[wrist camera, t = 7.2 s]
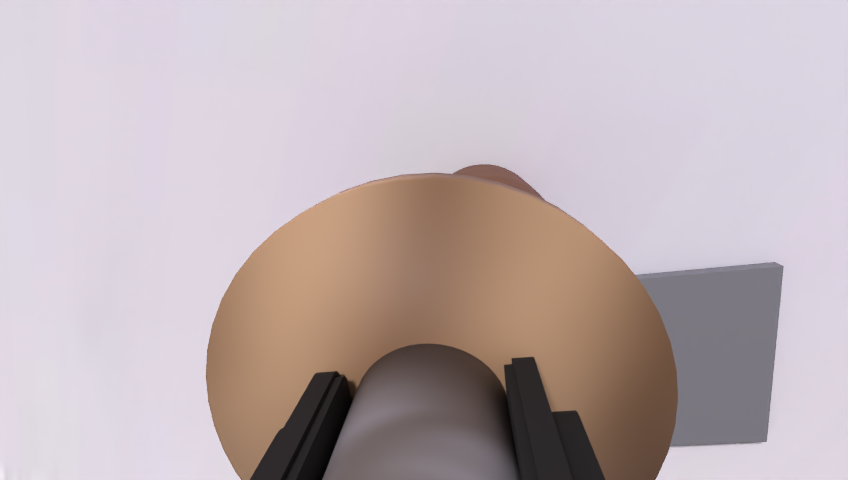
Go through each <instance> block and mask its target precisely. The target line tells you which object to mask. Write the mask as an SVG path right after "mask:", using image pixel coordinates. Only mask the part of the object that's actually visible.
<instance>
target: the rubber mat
mask: <svg viewBox="0 0 848 480" xmlns="http://www.w3.org/2000/svg"><path fill="white" fill-rule="evenodd" d="M635 276H636V277H637V278H638V280H639V281H640V282H641V283H642V285H643V286H644V288H645V289H646V291H647V293H648V294H649V296H650V298H651V300H652V301H653V303H654V305H655V306H656V308H657V310H658V312H659V313H660V316H661V318H662V321H663V324H664V326H665V329H666V331H667V334H668V336H669V339H670V342H671V346H672V351H673V355H674V360H675V365H676V369H677V386H678V404H677V414H676V423H675V428H674V432H673V436H672V439H671V443H670V446H682V445H704V444H727V443H749V442H767V433H768V422H769V412H770V401H771V391H772V380H773V370H774V360H775V349H776V339H777V328H778V318H779V307H780V297H781V286H782V276H783V266H782V265H780V264H777V263H775V262H773V263H762V264H751V265H740V266H729V267H718V268H707V269H696V270H685V271H675V272H664V273H653V274H642V275H635Z"/></svg>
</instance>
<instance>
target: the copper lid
mask: <svg viewBox="0 0 848 480" xmlns="http://www.w3.org/2000/svg"><path fill="white" fill-rule="evenodd" d="M521 357H534V358H535V361H536V364H537V368H538V371H539V374H540V377H541V380H542V383H543V387H544V390H545V393H546V396H547V399H548V402H549V406H550V409H551V412H555V411H573V410H576V411H577V412H578V414H579V416H580V418H581V421H582V423H583V426H584V428H585V431H586V433H587V436H588V438H589V441H590V443H591V445H592V448H593V450H594V453H595V455H596V458H597V460H598V463H599V465H600V468H601V470H602V472H603V475H604V477H605V480H655V479H656V477H657V475H658V473H659V471H660V469H661V467H662V464H663V462H664V460H665V458H666V455H667V453H668V450H669V447H670V443H671V439H672V436H673V432H674V428H675V423H676V414H677V404H678V386H677V369H676V365H675V360H674V355H673V351H672V346H671V342H670V339H669V336H668V334H667V331H666V329H665V326H664V324H663V321H662V318H661V316H660V313H659V312H658V310H657V308H656V306H655V305H654V303H653V301H652V300H651V298H650V296H649V294H648V293H647V291H646V289H645V288H644V286H643V285H642V283H641V282H640V281H639V280H638V278H637V277H636V276H635V275H634V273H633V272H632V271H631V270H630V268H629V267H628V266H627V265H626V263H625V262H624V261H623V260H622V259H621V258H620V257H619V256H618V255H617V254H616V253H615V252H613V251H612V250H611V249H610V248H609V247H608V246H607V245H606V244H605V243H604V242H603V241H602V240H600V239H599V238H598V237H597V236H596V235H595V234H594V233H592V232H591V231H590V230H589V229H587V228H586V227H585V226H584V225H583V224H581V223H580V222H578V221H577V220H576V219H574V218H573V217H571V216H570V215H568V214H567V213H565V212H564V211H563V210H561V209H560V208H558V207H557V206H555V205H553V204H551V203H549V202H547V201H545V200H543V199H541V198H539V197H537V196H535V195H533V194H531V193H529V192H526V191H524V190H521V189H518V188H515V187H512V186H509V185H506V184H504V183H501V182H497V181H493V180H488V179H483V178H478V177H473V176H468V175H458V174H444V173H424V174H408V175H399V176H394V177H389V178H384V179H379V180H374V181H370V182H367V183H364V184H362V185H359V186H356V187H353V188H350V189H347V190H344V191H342V192H340V193H338V194H336V195H334V196H332V197H330V198H328V199H326V200H324V201H322V202H320V203H318V204H316V205H315V206H313V207H311V208H309V209H308V210H306V211H304V212H302V213H301V214H299V215H298V216H296V217H295V218H294V219H292V220H291V221H289V222H288V223H286V224H285V225H284V226H282V227H281V228H279V229H278V230H276V231H275V232H274V233H273V234H272V235H271V236H270V237H269V238H268V239H267V240H265V241H264V242H263V243H262V244H261V245H260V246H259V247H258V248H257V249H256V250H255V251H254V252H253V253H252V254H251V256H250V257H249V258H248V259H247V261H246V262H245V263H244V265H243V266H242V267H241V268H240V270H239V271H238V272H237V274H236V275H235V277H234V278H233V280H232V282H231V284H230V286H229V287H228V289H227V291H226V293H225V295H224V296H223V298H222V300H221V303H220V306H219V308H218V311H217V314H216V316H215V319H214V322H213V325H212V330H211V334H210V339H209V344H208V349H207V366H206V381H207V392H208V402H209V406H210V410H211V414H212V418H213V422H214V426H215V429H216V432H217V434H218V437H219V439H220V442H221V444H222V447H223V449H224V451H225V453H226V455H227V457H228V459H229V461H230V462H231V464H232V466H233V468H234V470H235V472H236V473H237V474H238V476H239V477H240V479H241V480H250V478H251V477H252V475H253V473H254V471H255V470H256V468H257V466H258V465H259V463H260V461H261V459H262V458H263V456H264V454H265V453H266V451H267V449H268V448H269V446H270V444H271V442H272V441H273V439H274V437H275V436H276V434H277V433H278V431H279V430H280V429H282V428H284V426H285V424H286V422H287V421H288V419H289V417H290V416H291V414H292V412H293V410H294V409H295V407H296V405H297V403H298V402H299V400H300V398H301V396H302V395H303V393H304V391H305V390H306V388H307V386H308V384H309V383H310V381H311V379H312V377H313V376H314V374H315V373H318V372H332V371H337V372H339V374H340V376H345V377H346V378H347V381H348V386H349V391H350V395H351V400H352V404H351V406H350V409H349V412H348V414H347V417H346V419H345V422H344V425H343V427H342V430H341V432H340V435H339V438H338V440H337V443H336V445H335V448H334V451H333V453H332V456H331V458H330V461H329V464H328V466H327V469H326V471H325V474H324V477H323V479H322V480H521V478H520V472H519V466H518V460H517V454H516V449H515V443H514V437H513V431H512V425H511V419H510V413H509V407H508V402H507V394H506V384H505V374H504V365H508V364H512V358H521Z"/></svg>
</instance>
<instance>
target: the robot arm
mask: <svg viewBox="0 0 848 480" xmlns="http://www.w3.org/2000/svg"><path fill="white" fill-rule="evenodd" d="M504 374H505V384H506V394H507V402H508V407H509V413H510V419H511V425H512V431H513V437H514V443H515V449H516V454H517V460H518V466H519V472H520V478H521V480H605V477H604V475H603V472H602V470H601V468H600V465H599V463H598V460H597V458H596V455H595V453H594V450H593V448H592V445H591V443H590V441H589V438H588V436H587V433H586V431H585V428H584V426H583V423H582V421H581V418H580V416H579V414H578V412H577V411H576V410H573V411H555V412H551V409H550V406H549V402H548V399H547V396H546V393H545V390H544V387H543V383H542V380H541V377H540V374H539V371H538V368H537V364H536V361H535V358H534V357H521V358H512V364H508V365H504ZM351 404H352V400H351V395H350V391H349V386H348V381H347V378H346V377H345V376H340V374H339V372H337V371H332V372H318V373H315V374H314V376H313V377H312V379H311V381H310V383H309V384H308V386H307V388H306V390H305V391H304V393H303V395H302V396H301V398H300V400H299V402H298V403H297V405H296V407H295V409H294V410H293V412H292V414H291V416H290V417H289V419H288V421H287V422H286V424H285V426H284V428H282V429H280V430H279V431H278V433H277V434H276V436H275V437H274V439H273V441H272V442H271V444H270V446H269V448H268V449H267V451H266V453H265V454H264V456H263V458H262V459H261V461H260V463H259V465H258V466H257V468H256V470H255V471H254V473H253V475H252V477H251V478H250V480H322V479H323V477H324V474H325V471H326V469H327V466H328V464H329V461H330V458H331V456H332V453H333V451H334V448H335V445H336V443H337V440H338V438H339V435H340V432H341V430H342V427H343V425H344V422H345V419H346V417H347V414H348V412H349V409H350V406H351Z"/></svg>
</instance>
